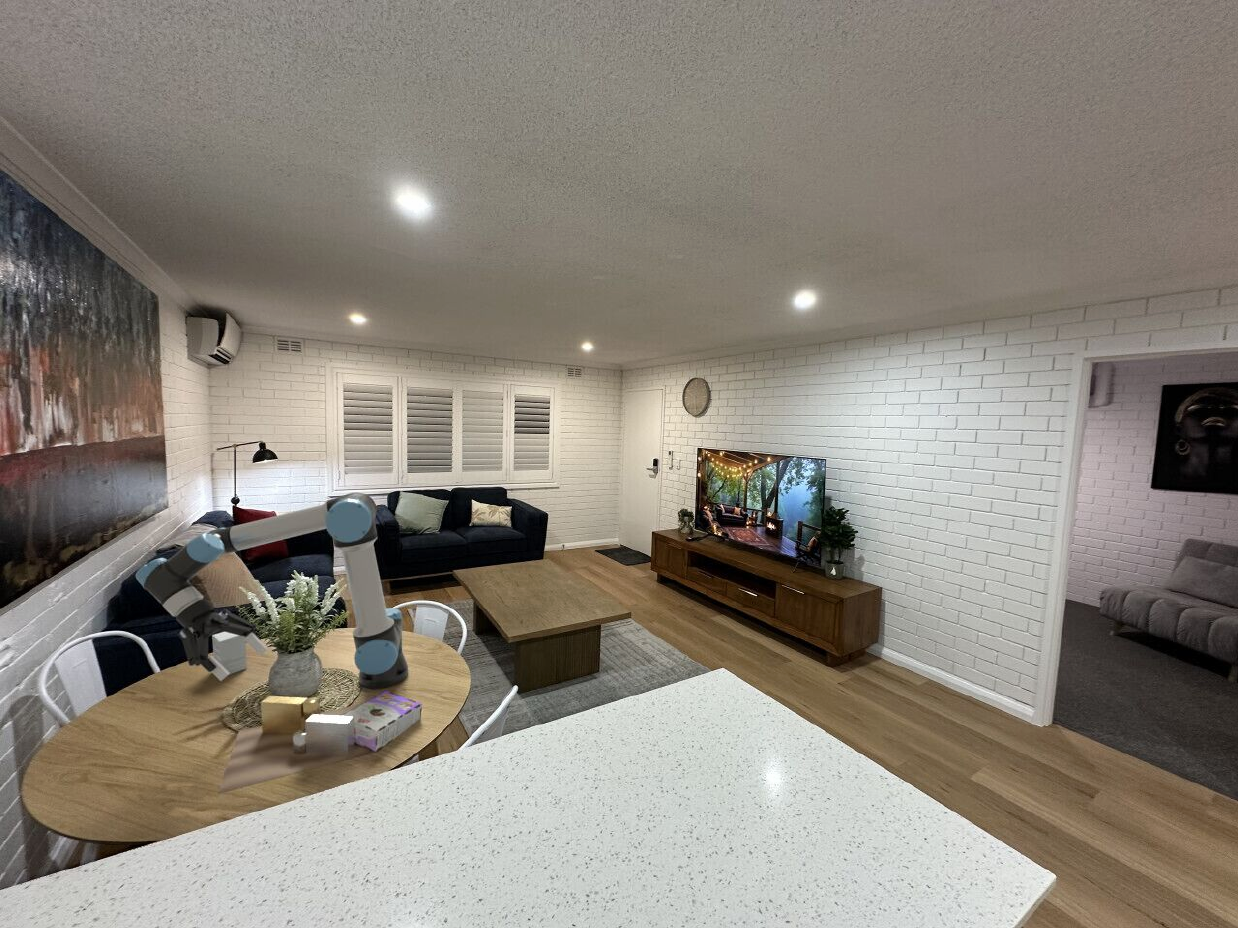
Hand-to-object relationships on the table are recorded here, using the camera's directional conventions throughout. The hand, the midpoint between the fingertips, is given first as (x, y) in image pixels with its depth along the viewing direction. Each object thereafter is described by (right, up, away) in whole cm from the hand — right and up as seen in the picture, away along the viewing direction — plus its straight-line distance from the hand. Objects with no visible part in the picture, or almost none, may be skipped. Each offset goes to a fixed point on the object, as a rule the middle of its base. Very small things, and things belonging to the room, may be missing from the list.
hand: (245, 664), depth 136 cm
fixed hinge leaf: (+24, -21, -5) cm, 32 cm away
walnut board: (+17, -21, -2) cm, 27 cm away
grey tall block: (-31, -16, +34) cm, 48 cm away
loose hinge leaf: (+12, -19, +2) cm, 23 cm away
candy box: (+38, -17, +12) cm, 43 cm away
